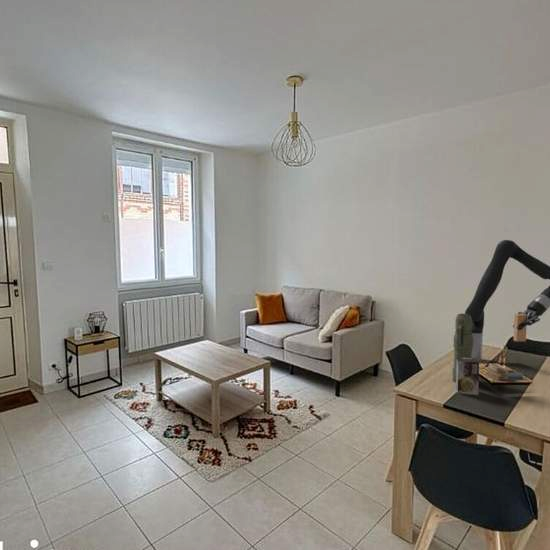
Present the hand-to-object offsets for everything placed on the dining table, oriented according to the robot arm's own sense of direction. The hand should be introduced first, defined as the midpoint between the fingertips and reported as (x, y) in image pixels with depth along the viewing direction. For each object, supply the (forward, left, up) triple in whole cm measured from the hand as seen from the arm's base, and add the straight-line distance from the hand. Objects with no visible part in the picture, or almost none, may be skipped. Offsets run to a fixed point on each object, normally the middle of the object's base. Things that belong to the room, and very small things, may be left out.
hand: (516, 328), depth 192 cm
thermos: (-25, -20, -26) cm, 41 cm away
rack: (-4, -7, -26) cm, 27 cm away
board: (+2, +1, -7) cm, 7 cm away
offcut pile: (-8, -10, -24) cm, 27 cm away
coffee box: (-23, -34, -26) cm, 48 cm away
